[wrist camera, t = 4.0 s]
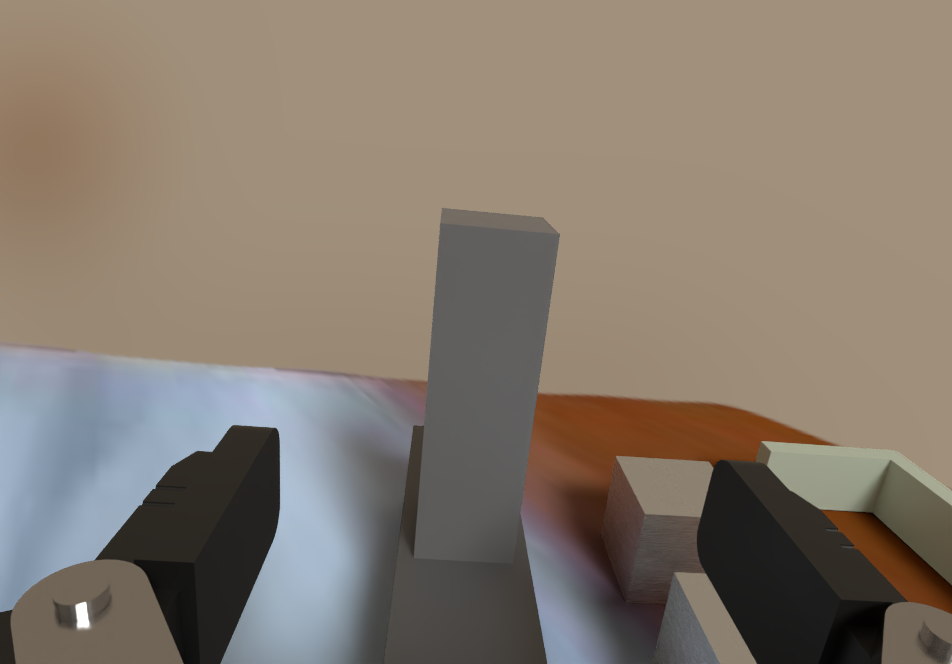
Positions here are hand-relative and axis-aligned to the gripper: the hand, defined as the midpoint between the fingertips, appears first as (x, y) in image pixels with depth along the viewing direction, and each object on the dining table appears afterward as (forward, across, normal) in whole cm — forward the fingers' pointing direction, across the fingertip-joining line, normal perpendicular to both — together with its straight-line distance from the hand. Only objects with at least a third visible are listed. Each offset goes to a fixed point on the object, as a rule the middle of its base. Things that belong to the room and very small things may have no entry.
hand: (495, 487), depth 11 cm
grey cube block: (+10, -9, +10) cm, 17 cm away
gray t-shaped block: (+7, 0, +10) cm, 12 cm away
